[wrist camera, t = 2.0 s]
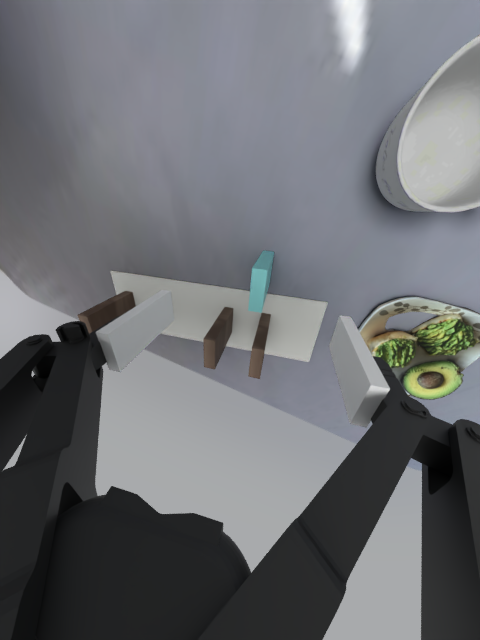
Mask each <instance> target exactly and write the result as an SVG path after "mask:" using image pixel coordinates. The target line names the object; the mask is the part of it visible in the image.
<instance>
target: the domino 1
mask: <svg viewBox="0 0 480 640" xmlns="http://www.w3.org/2000/svg"><path fill="white" fill-rule="evenodd" d="M134 307H136V305H135V300H134V295H133V292H130V291H124V292H122V293H120V294H118V295H116V296H114V297H112V298H110V299H108V300H106V301H104V302H102V303H100V304H98V305H96V306H94V307H92V308H90V309H88V310H86V311H84V312H82V313H80V314H78V318H79V320H80V321H81V322H84V323H85V324H86V327H87V329H88V332H89V334H90V333H91V332H93V331H95V330H96V329H98V328H99V327H101V326H103V325H105V324H106V323H107V322H110V321H111V320H112V319H114V318H115V317H117V316H120V315H123V314H125V313H126V312H128V311H130V310H131V309H133V308H134Z"/></svg>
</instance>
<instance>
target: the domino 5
mask: <svg viewBox="0 0 480 640" xmlns="http://www.w3.org/2000/svg"><path fill="white" fill-rule="evenodd" d="M270 317H271V314H267V313H261V317H260V320H259V324H258V327H257V331H256V335H255V338H254V342H253V346H252V351H251V359H250V367H249V375H248V376H249V377H254V378H258V379H260V375H261V369H262V363H263V358H264V352H265V347H266V341H267V335H268V329H269V323H270Z"/></svg>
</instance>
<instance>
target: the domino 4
mask: <svg viewBox="0 0 480 640" xmlns="http://www.w3.org/2000/svg"><path fill="white" fill-rule="evenodd" d="M232 325H233V308H229V307H224V308H223V310H222V311H221V313H220V314H219V316H218V317H217V319H216V320H215V322H214V324H213V325H212V327H211V328H210V330H209V331H208V333H207V334H206V336H205V337H204V339H203V342H204V367H206V368H211V369H215V368H216V366H217V364H218V361H219V359H220V357H221V355H222V353H223V351H224V349H225V346H226V344H227V342H228V340H229V338H230V336H231V334H232Z"/></svg>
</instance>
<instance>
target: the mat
mask: <svg viewBox="0 0 480 640" xmlns="http://www.w3.org/2000/svg"><path fill="white" fill-rule="evenodd" d="M110 272H111V276H112V280H113V283H114V287H115V291H116V295H118V294H120V293H122V292H124V291H130V292H133V295H134V300H135V305H136V306H137V305H139V304H141V303H142V302H144V301H145V300H147V299H148V298H150V297H152V296H153V295H155V294H156V293H158V292H159V291H161V290H168V291H171V297H172V305H173V313H174V321H173V322H172V323H171V324H170V325H169V326H168V327H167V328H166V329H164V330H163V331H162V332H161V333H160V334H165V335H170V336H176V337H181V338H186V339H191V340H196V341H202V342H203V339H204V337H205V336H206V334H207V333H208V331H209V330H210V328H211V327H212V325H213V324H214V322H215V320H216V319H217V317H218V316H219V314H220V313H221V311H222V310H223V308H224V307H229V308H233V325H232V334H231V336H230V338H229V340H228V342H227V344H226V346H228V347H233V348H238V349H243V350H248V351H252V346H253V342H254V338H255V335H256V331H257V327H258V324H259V320H260V317H261V313H259V312H253V311H248V306H249V296H250V291H248V290H242V289H235V288H228V287H221V286H214V285H207V284H200V283H194V282H187V281H180V280H173V279H166V278H159V277H152V276H145V275H139V274H132V273H125V272H118V271H110ZM327 304H328V302H324V301H317V300H310V299H303V298H297V297H290V296H283V295H276V294H269V293H267V295H266V299H265V302H264V306H263V310H262V313H267V314H271V317H270V323H269V329H268V335H267V341H266V347H265V352H264V354H269V355H275V356H280V357H285V358H290V359H295V360H301V361H306V362H309V360H310V357H311V354H312V351H313V348H314V345H315V341H316V338H317V335H318V332H319V329H320V326H321V323H322V319H323V316H324V313H325V310H326V307H327Z"/></svg>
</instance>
